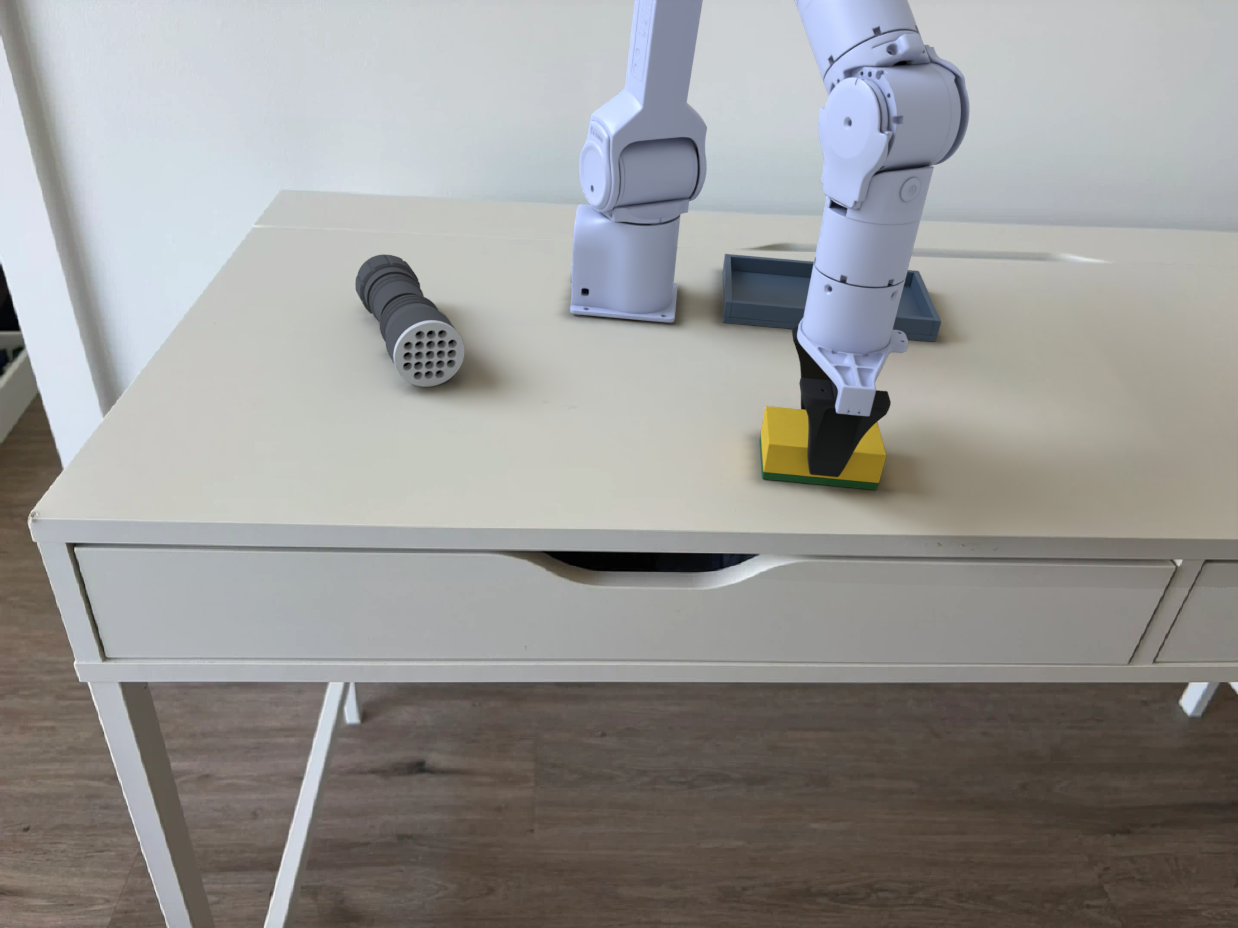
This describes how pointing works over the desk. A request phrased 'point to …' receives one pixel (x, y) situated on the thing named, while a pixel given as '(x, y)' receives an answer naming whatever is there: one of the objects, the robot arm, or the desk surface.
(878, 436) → the sponge
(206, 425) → the desk surface
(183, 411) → the desk surface
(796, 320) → the tray
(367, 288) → the flashlight
